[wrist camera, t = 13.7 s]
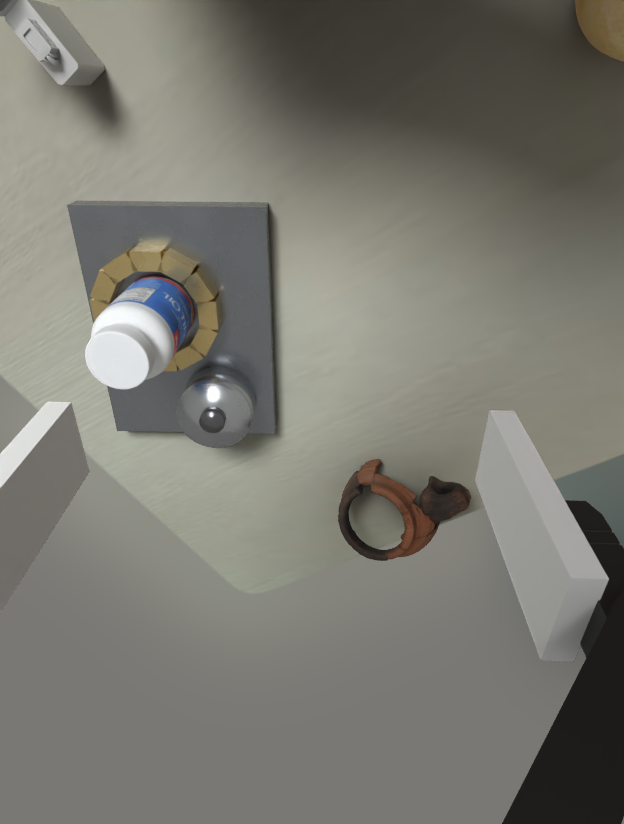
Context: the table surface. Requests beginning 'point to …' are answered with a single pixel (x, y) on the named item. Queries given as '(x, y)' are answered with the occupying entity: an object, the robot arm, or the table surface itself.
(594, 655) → the robot arm
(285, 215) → the table surface
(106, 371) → the pill bottle
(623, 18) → the onion
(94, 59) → the lighter
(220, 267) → the carrier plate
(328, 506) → the table surface
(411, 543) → the pottery mug
